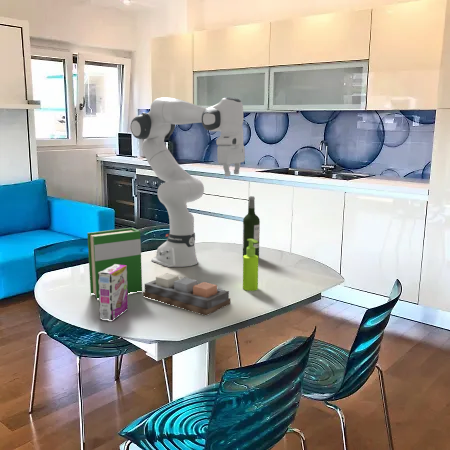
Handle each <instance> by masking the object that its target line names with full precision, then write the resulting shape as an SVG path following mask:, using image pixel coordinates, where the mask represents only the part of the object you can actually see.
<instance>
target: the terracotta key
mask: <svg viewBox="0 0 450 450" xmlns="http://www.w3.org/2000/svg"><path fill="white" fill-rule="evenodd" d="M217 289H218V285H217V284H214V283H210V282H206V281H203V282H200V283H197V285H195V286H193V294H194V295H198V296H202V297H205V298H208V297H210V296H212V295H215V294H217Z"/></svg>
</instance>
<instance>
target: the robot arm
mask: <svg viewBox="0 0 450 450" xmlns="http://www.w3.org/2000/svg"><path fill="white" fill-rule="evenodd" d="M197 123H200V124H201V125H202V127H203V128H204V129H205V131H209V132H220V136H219V137H218V138H217V139H216V141H215V142H216V145H217V150H216V151H217V154H216V155H217V162H218V165H219V166H222V169H223V170H224V177H230V176H231V171H230V167H231V165H234V169H233V175H239V174H240V168H241V164H242V163H244V162H245V159H246V155H245V154H246V153H245V152H246V151H245V145H244V129H243V124H244V106H243V102H242V100H240V99H239V98H235V97H226V96H225V97H223V98H221V99H220V101H219V102H218V103H216V104H214V105H212V106H209V107H204V106H200V105H198V104H195V103H192V102H189V101H186V100H183V99H180V98H175V97H158V98H155V99H154V100H153V101H152V102H151V105H150V110H149V111H148V112H141V114H139V115H137V116H135V117H133V119H132V120H131V123H130V131H131V134H132V135H133V137H134V138H135V139H138V140H143V141H142V143H141V150H142V154H143V155H144V157H145V159H146V161H147V163H148V164H149V166H150V168H151V169H152V170H153V172H154V174H155V175H156V177H157V178H158V179H159V180H161V181H164V182H163V183H160V185H159V186H158V188H157V198H158V200H159V202H160V203H161V204H162V205H163V206H164V207H165V209H166V210H167V214H168V219H169V233H166V234H165V238H166V237H167V240H166V241H165V242H163V243H162V244H161V245H160V246H158V247H157V249H156V254H155V255H156V256H153V257H152V258H151V262H153V263H156V264H159V265H162V266H164V267H166V268H167V267H168V268H175V267H179V268H181V267H183V268H184V267H191V266H194V265H197V264H198V263H199V261H198V258H197V252H196V245H195V243H196V233H195V217H194V215H193V213H191V212H190V211H189V209H188V206H187V203H193V202H195V201H198V199H201V198H202V196H203V195H204V192H205V186H204V184H203V182H202V181H201V180H200V179H198V178H196V177H194V176H192V175H191V174H189V173H188V172H187V171H186V170H185V169H184V168H183V167H181V165H180V164H179V163H178V161H177V160H176V159H175V157H174V156H173V154H172V153H171V151H170V150H169V149H168V147H167V146H166V144H165V141H168V140H169V139H170V137H171V135H172V134H174V131H175V128H176V125H189V124H197Z"/></svg>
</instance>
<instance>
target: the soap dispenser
mask: <svg viewBox="0 0 450 450" xmlns="http://www.w3.org/2000/svg"><path fill="white" fill-rule="evenodd" d="M247 241H249V246H248V247H247V249H246V255H244V256H243V255H242V289H243V290H244V291H247V292H255V291H257V290H259V259H258V256H257V255H255V247H253V243H258V241H257V240H255V239H247Z"/></svg>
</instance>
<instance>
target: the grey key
mask: <svg viewBox="0 0 450 450" xmlns="http://www.w3.org/2000/svg"><path fill="white" fill-rule="evenodd" d="M197 284H198V280H197V279H194V278H189V277H182V278H179V280H176V281H174V289H175V290H179V291H183V292H186V293H187V292H190V291H192V290H193V286H195V285H197Z"/></svg>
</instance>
